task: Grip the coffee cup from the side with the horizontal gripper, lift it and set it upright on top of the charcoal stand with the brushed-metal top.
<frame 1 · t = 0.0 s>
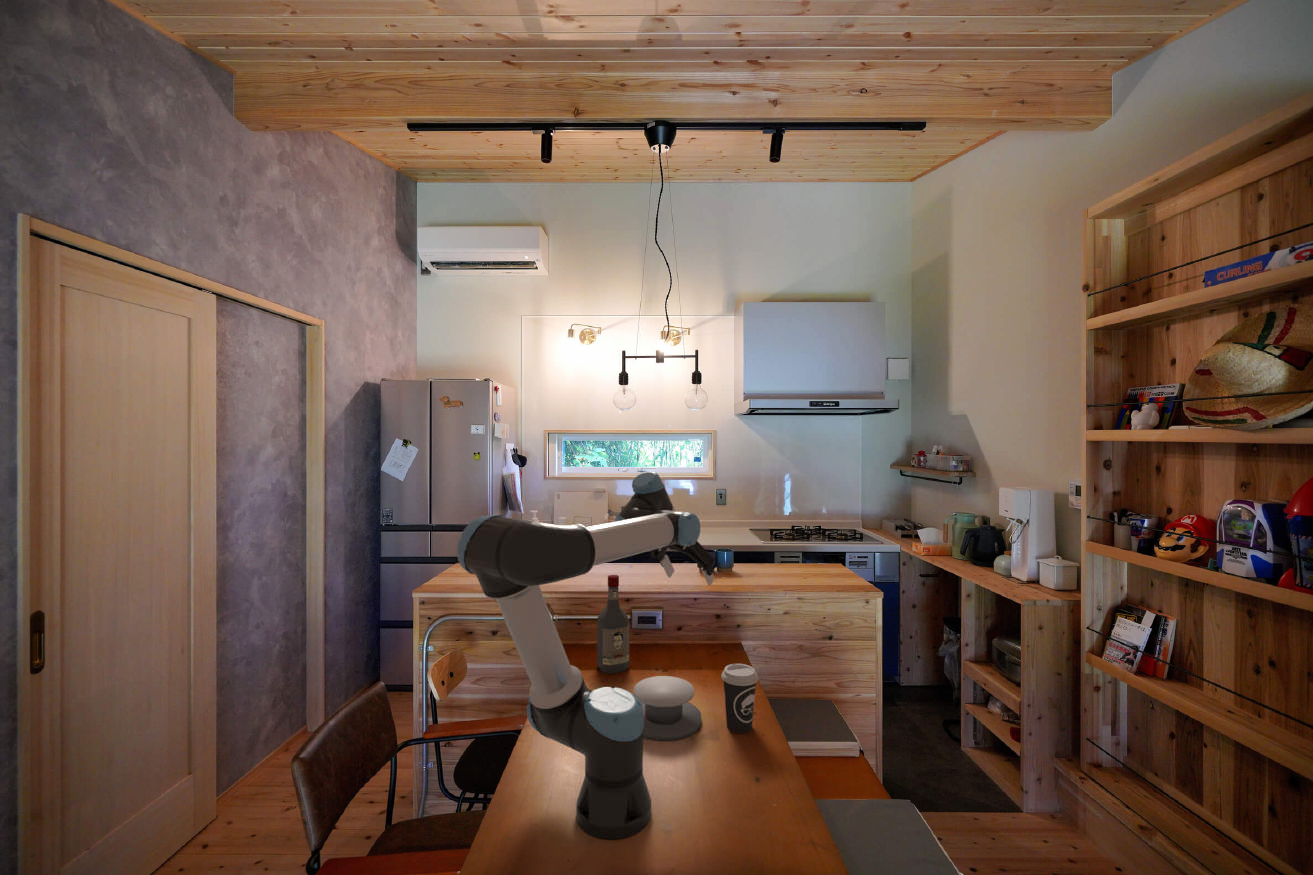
hand: (691, 577, 160), 36 cm above the table, tool tilted 35°, fingers open, 13 cm apart
coffee cup: (739, 727, 148), on the table
liquor: (613, 668, 185), on the table
cup stand: (663, 720, 151), on the table
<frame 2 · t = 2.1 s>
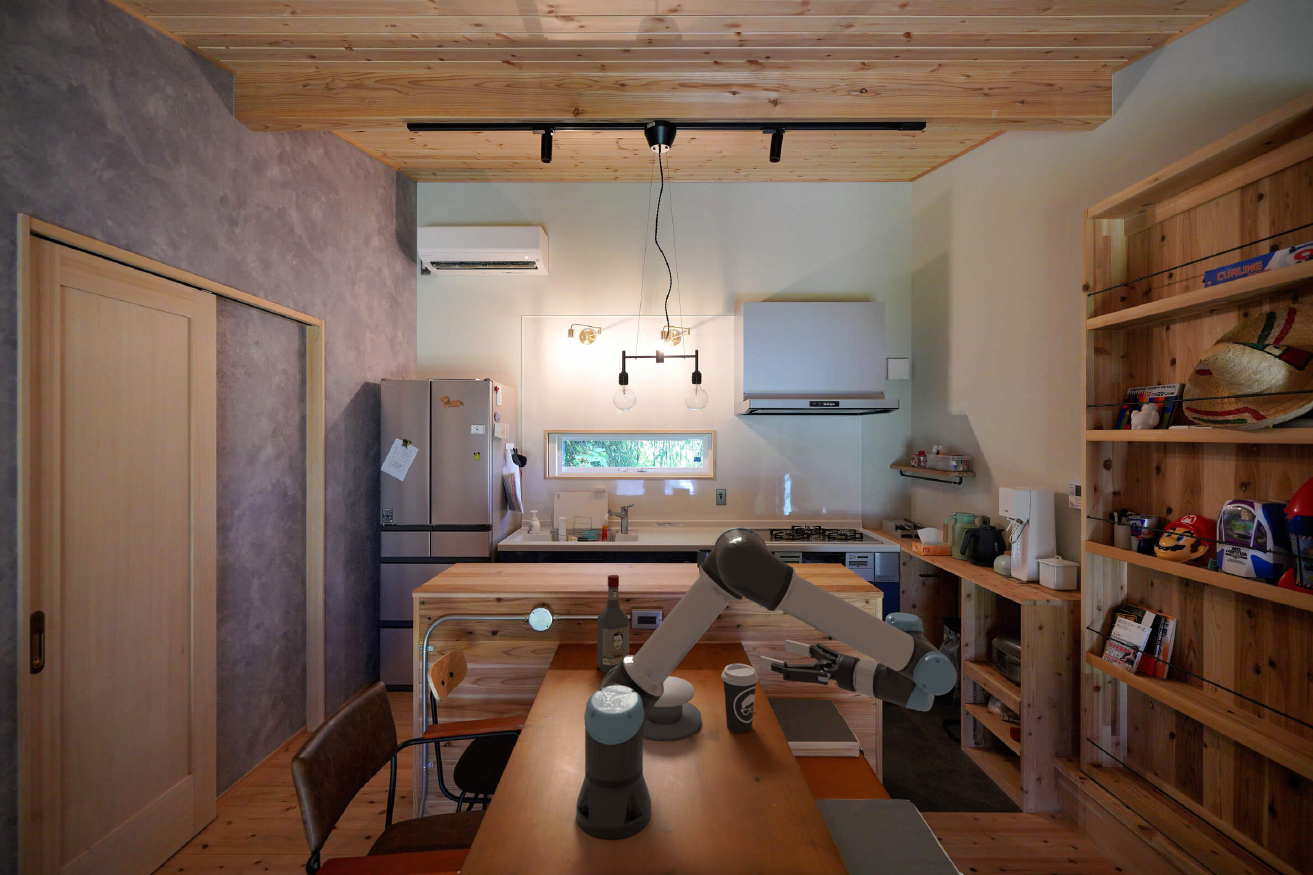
hand: (773, 652, 142), 22 cm above the table, tool horizontal, fingers open, 13 cm apart
nothing on the table moved.
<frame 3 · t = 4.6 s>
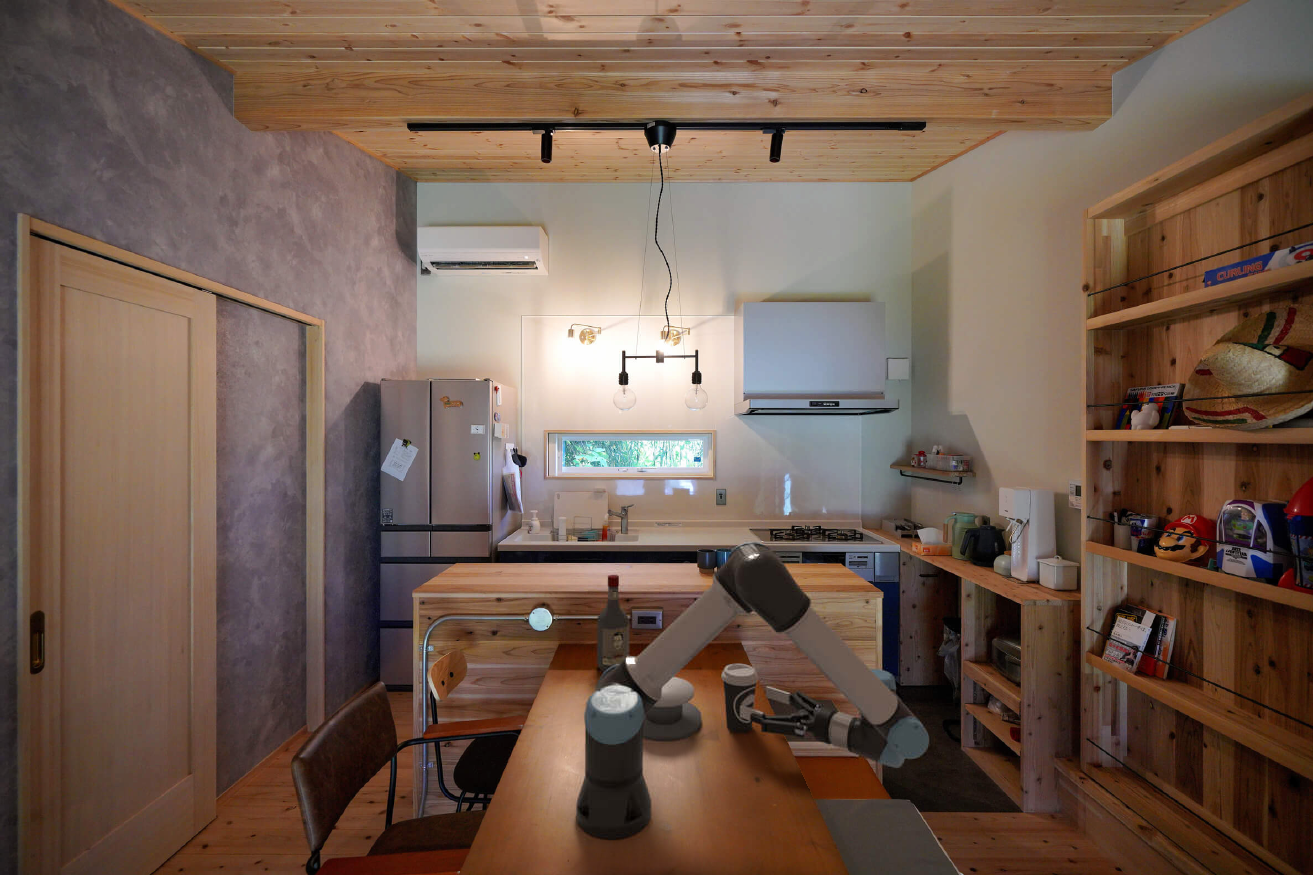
hand: (754, 700, 146), 8 cm above the table, tool horizontal, fingers open, 13 cm apart
nothing on the table moved.
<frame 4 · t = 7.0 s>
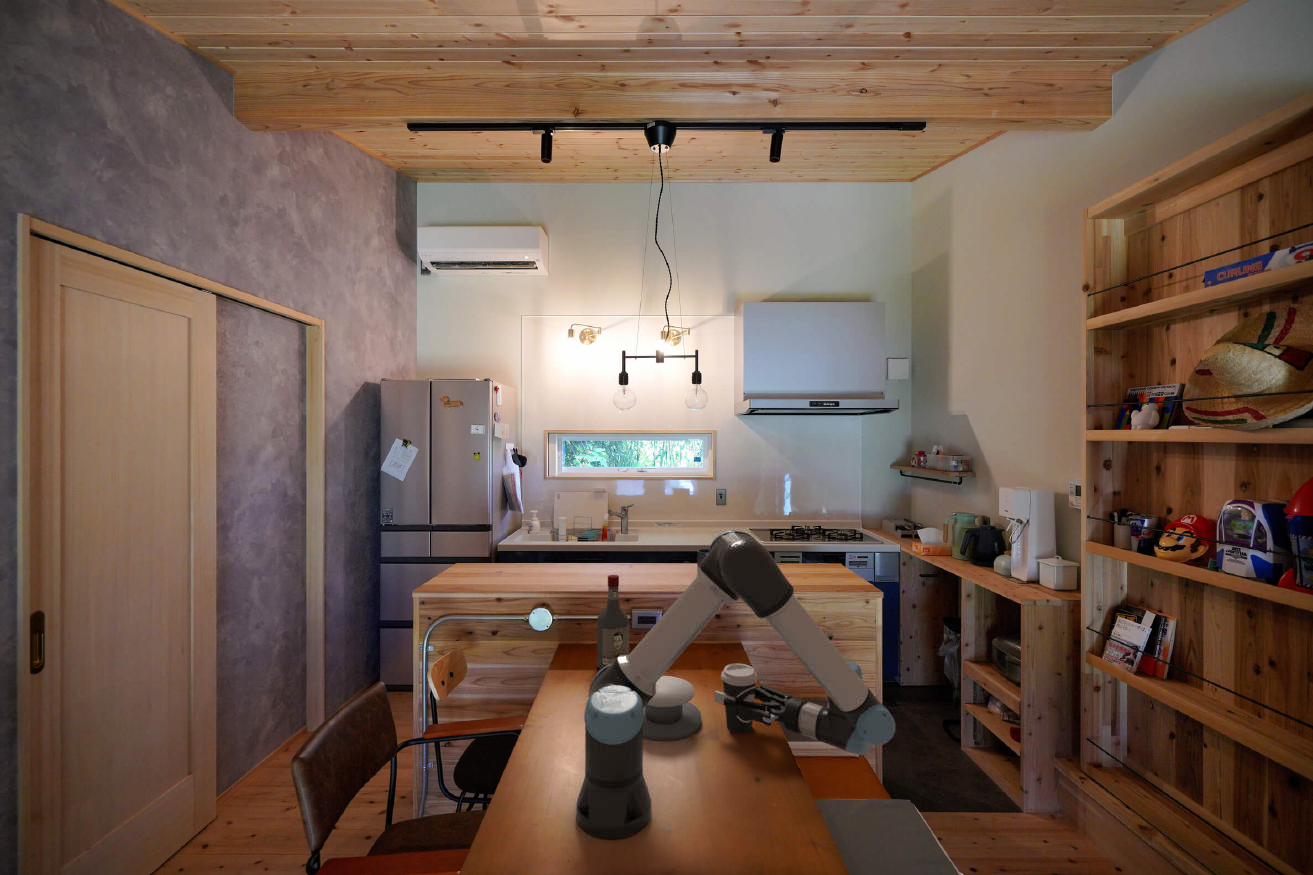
hand: (723, 690, 151), 8 cm above the table, tool horizontal, fingers closed on coffee cup, 7 cm apart
coffee cup: (739, 727, 148), on the table, touching gripper
everything else where it was.
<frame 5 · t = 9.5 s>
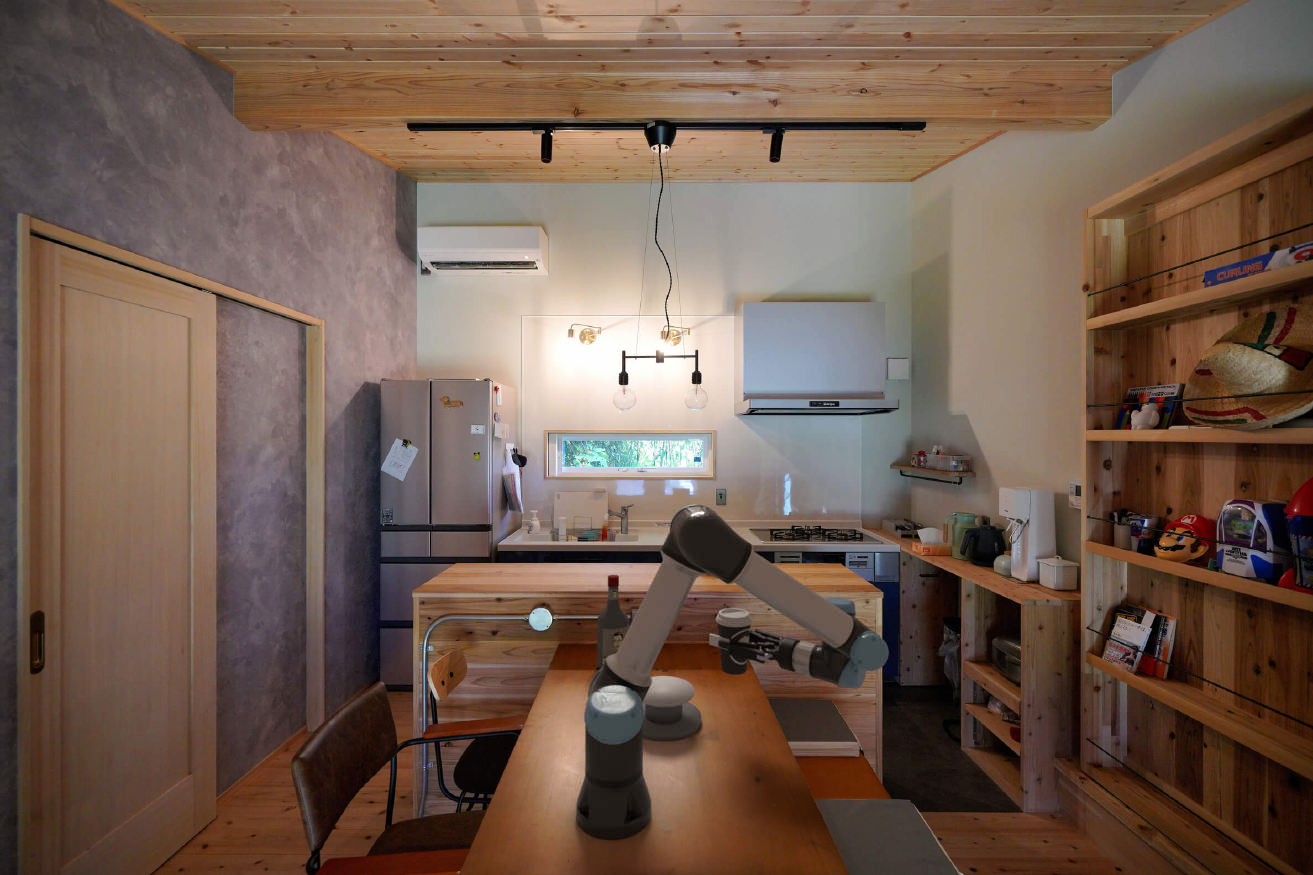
hand: (718, 634, 152), 23 cm above the table, tool horizontal, fingers closed on coffee cup, 7 cm apart
coffee cup: (734, 670, 149), point 15 cm above the table, touching gripper
everything else where it was.
when the fingers open (18 cm above the table, at t = 12.3 s): coffee cup drops 1 cm, resting on cup stand.
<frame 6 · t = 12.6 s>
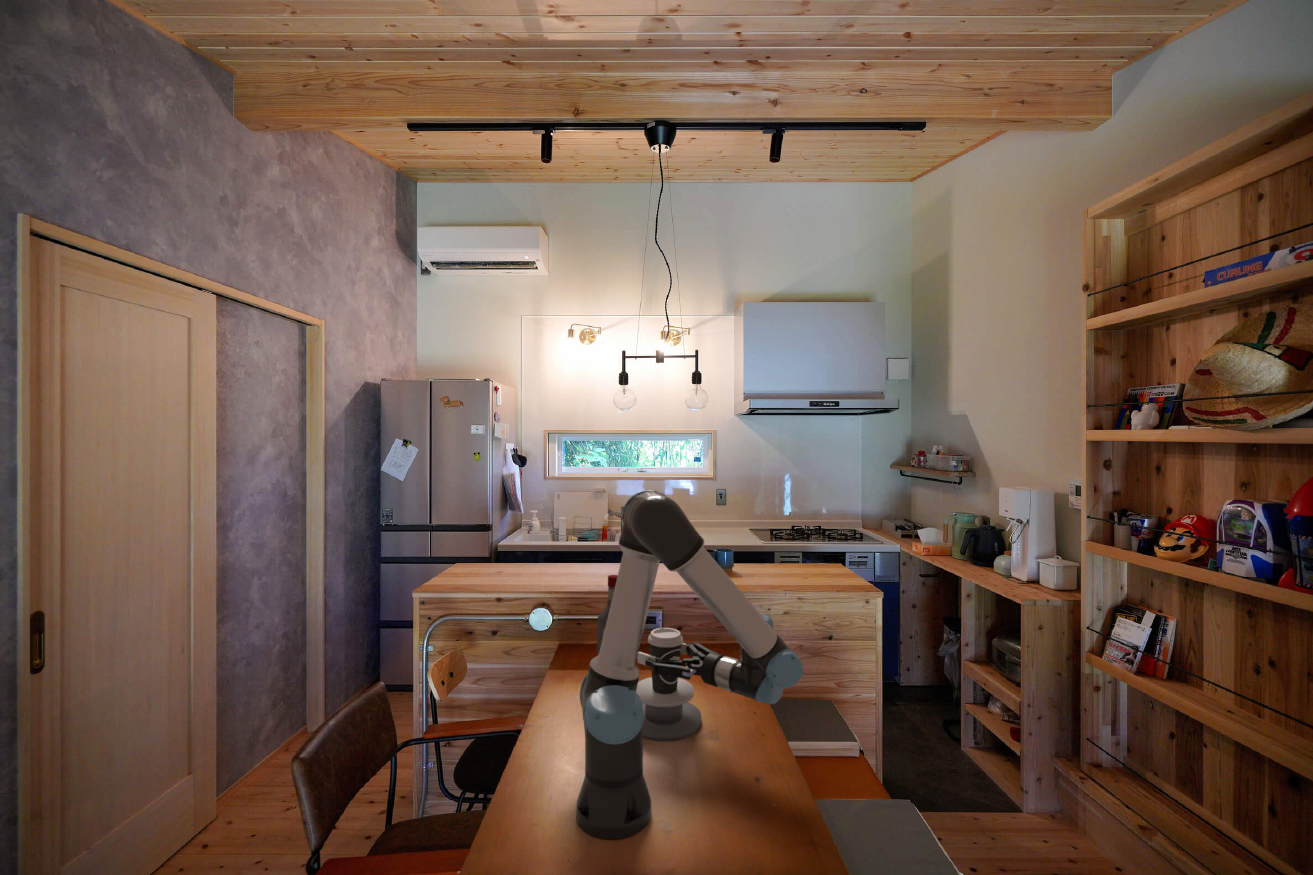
hand: (653, 649, 154), 18 cm above the table, tool horizontal, fingers open, 11 cm apart
coffee cup: (664, 689, 151), point 8 cm above the table, touching cup stand
everything else where it was.
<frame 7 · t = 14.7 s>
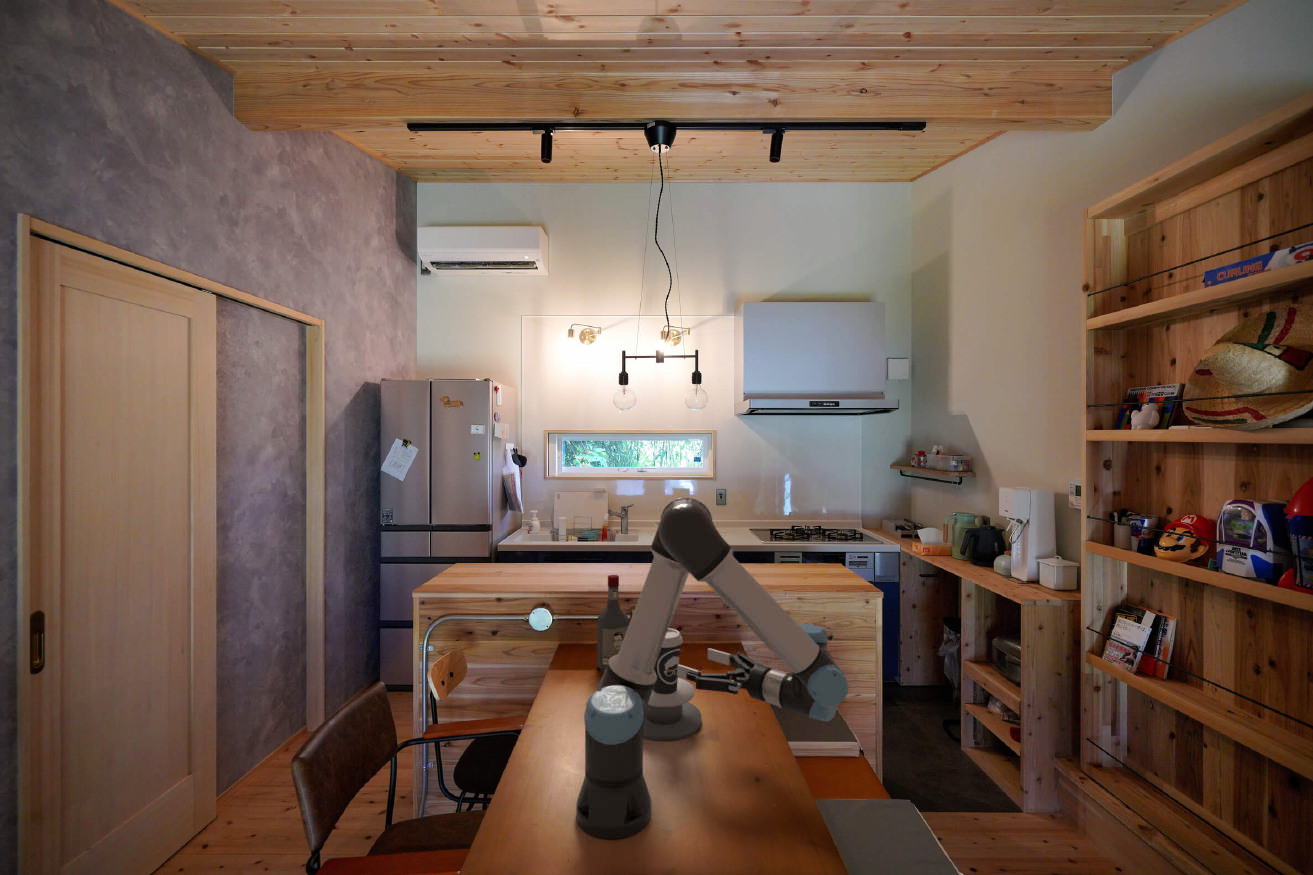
hand: (693, 661, 145), 18 cm above the table, tool horizontal, fingers open, 13 cm apart
nothing on the table moved.
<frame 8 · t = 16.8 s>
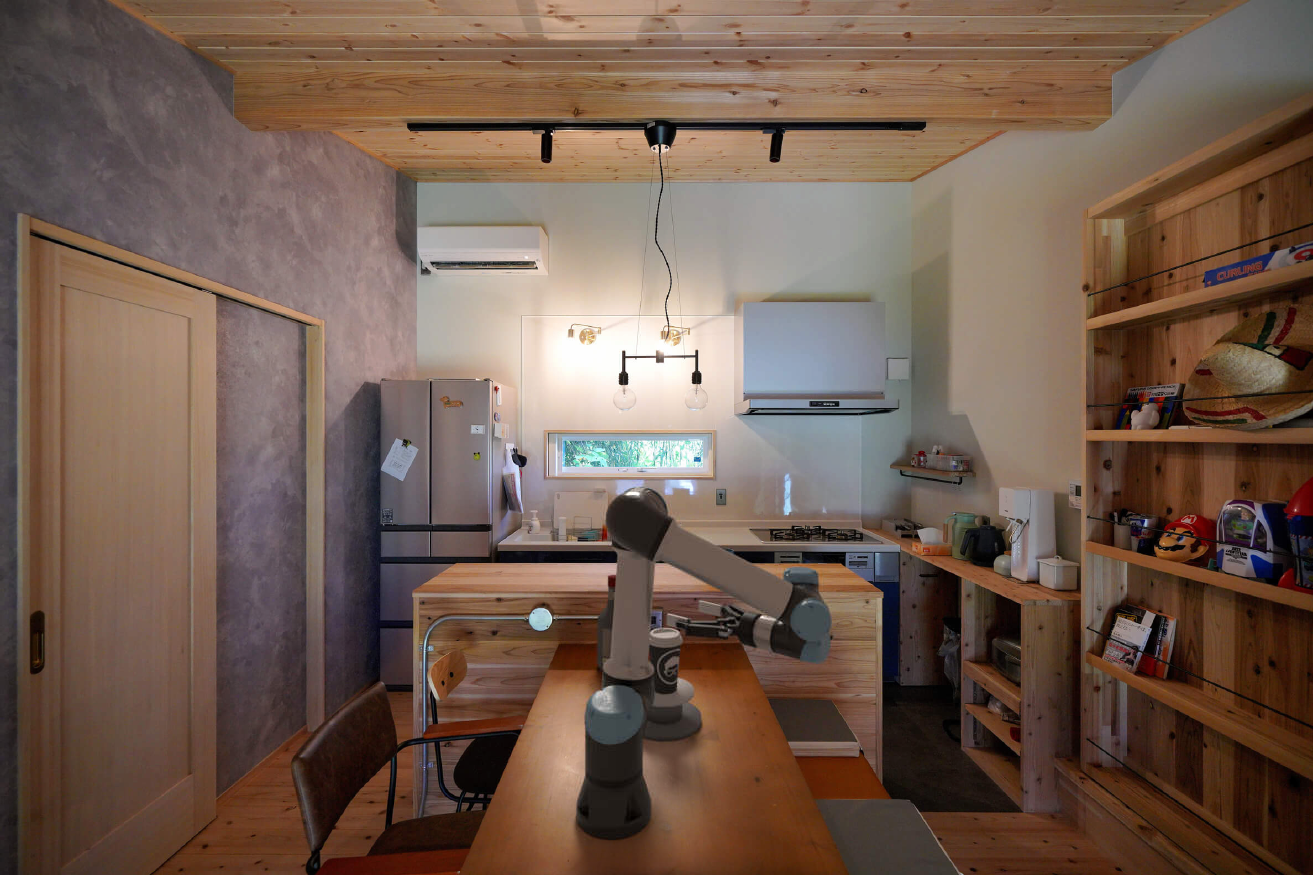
hand: (684, 612, 142), 32 cm above the table, tool horizontal, fingers open, 13 cm apart
nothing on the table moved.
at the end: coffee cup inside the target area on the cup stand (0.2 cm from its centre), point 8.3 cm above the cup stand's base; coffee cup tilted 0°; the gripper is holding nothing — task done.
